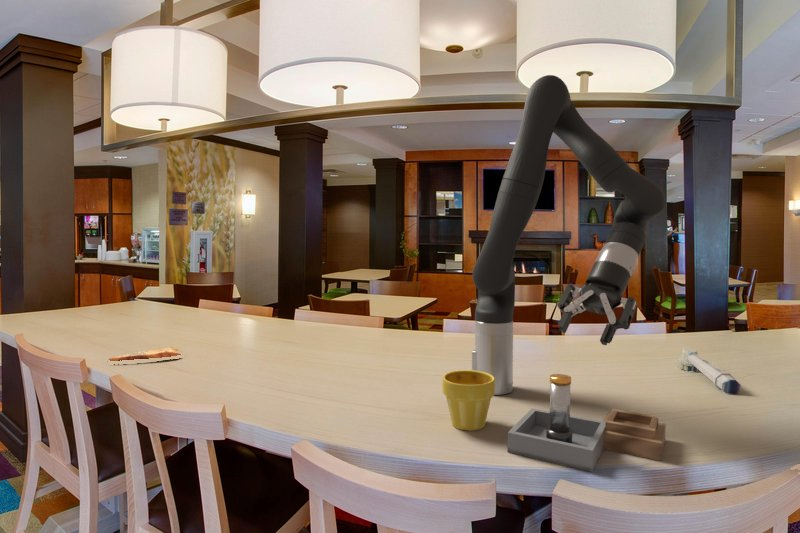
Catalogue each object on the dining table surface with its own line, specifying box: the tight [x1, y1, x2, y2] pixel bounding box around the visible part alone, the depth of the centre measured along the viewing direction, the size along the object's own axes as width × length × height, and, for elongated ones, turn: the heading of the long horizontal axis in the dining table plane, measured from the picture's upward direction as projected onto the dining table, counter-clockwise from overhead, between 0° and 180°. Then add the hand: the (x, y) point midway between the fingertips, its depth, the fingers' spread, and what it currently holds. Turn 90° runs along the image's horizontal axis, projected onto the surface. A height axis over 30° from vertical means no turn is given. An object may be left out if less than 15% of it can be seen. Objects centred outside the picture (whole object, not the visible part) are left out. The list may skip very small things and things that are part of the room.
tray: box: [507, 407, 606, 473], centre depth 86 cm, size 14×14×4 cm
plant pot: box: [441, 369, 495, 431], centre depth 96 cm, size 10×10×10 cm
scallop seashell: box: [108, 346, 181, 361], centre depth 151 cm, size 18×18×4 cm
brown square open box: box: [602, 408, 667, 462], centre depth 86 cm, size 10×10×4 cm
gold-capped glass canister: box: [546, 373, 572, 444], centre depth 85 cm, size 4×4×12 cm
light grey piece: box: [677, 347, 741, 395], centre depth 126 cm, size 5×7×25 cm
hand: (581, 337), depth 95 cm, fingers open, 8 cm apart
